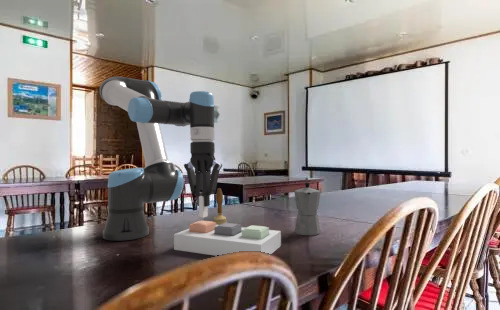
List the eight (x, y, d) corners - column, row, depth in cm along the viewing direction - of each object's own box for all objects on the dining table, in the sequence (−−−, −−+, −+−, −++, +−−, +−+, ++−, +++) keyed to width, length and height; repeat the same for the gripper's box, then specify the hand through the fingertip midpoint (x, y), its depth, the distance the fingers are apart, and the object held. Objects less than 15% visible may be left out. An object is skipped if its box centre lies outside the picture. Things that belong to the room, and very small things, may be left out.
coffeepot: (323, 237, 107) (323, 184, 107) (295, 236, 108) (294, 184, 108) (318, 227, 122) (317, 180, 122) (293, 226, 123) (293, 180, 123)
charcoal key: (214, 237, 94) (214, 226, 94) (224, 232, 100) (224, 222, 100) (232, 239, 92) (232, 227, 92) (241, 234, 97) (241, 223, 97)
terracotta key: (189, 234, 98) (189, 223, 98) (200, 230, 103) (200, 219, 103) (205, 236, 96) (205, 225, 96) (216, 231, 101) (216, 221, 101)
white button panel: (174, 249, 94) (173, 234, 94) (203, 236, 109) (203, 223, 109) (261, 262, 83) (261, 244, 83) (280, 246, 97) (280, 231, 97)
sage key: (241, 240, 91) (241, 228, 91) (250, 235, 96) (250, 224, 96) (261, 242, 88) (261, 230, 88) (268, 237, 94) (268, 226, 94)
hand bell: (228, 235, 110) (227, 189, 110) (205, 234, 112) (205, 189, 112) (233, 230, 119) (233, 187, 118) (212, 229, 120) (212, 187, 120)
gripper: (178, 141, 99) (179, 217, 98) (214, 140, 93) (215, 220, 93) (192, 142, 106) (192, 213, 105) (226, 141, 100) (227, 216, 100)
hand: (203, 216), depth 99 cm, fingers closed
